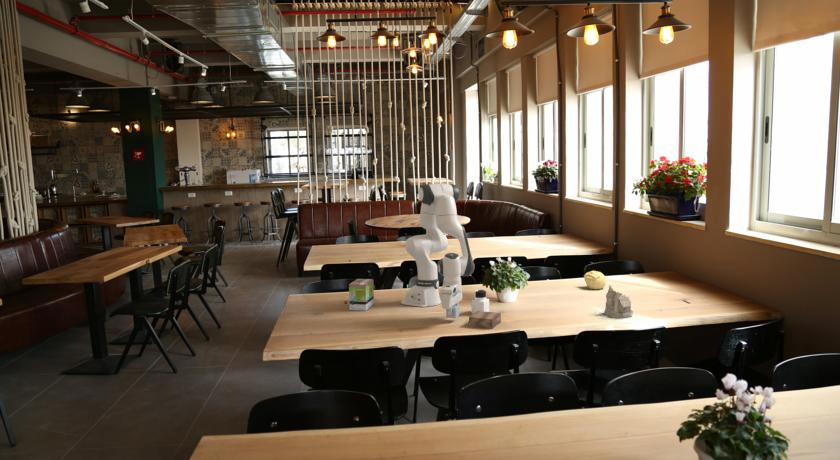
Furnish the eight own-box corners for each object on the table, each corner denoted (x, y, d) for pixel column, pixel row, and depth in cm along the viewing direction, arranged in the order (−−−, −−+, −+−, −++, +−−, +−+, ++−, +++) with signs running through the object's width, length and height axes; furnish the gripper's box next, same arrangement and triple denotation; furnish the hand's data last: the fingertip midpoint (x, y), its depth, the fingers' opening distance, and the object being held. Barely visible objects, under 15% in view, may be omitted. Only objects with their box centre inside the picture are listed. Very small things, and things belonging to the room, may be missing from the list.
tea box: (367, 311, 330) (365, 284, 328) (349, 310, 332) (348, 283, 330) (374, 304, 344) (373, 278, 342) (357, 303, 346) (356, 278, 344)
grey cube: (446, 317, 304) (446, 307, 303) (449, 314, 308) (449, 305, 308) (455, 318, 302) (455, 308, 301) (459, 315, 306) (459, 305, 306)
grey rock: (617, 319, 300) (618, 288, 299) (598, 312, 316) (599, 283, 315) (644, 317, 305) (645, 288, 304) (624, 311, 320) (625, 283, 319)
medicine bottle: (489, 312, 321) (489, 289, 319) (483, 315, 315) (483, 292, 313) (477, 310, 324) (476, 288, 323) (471, 313, 318) (471, 291, 317)
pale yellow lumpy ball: (581, 287, 370) (581, 270, 369) (596, 285, 375) (596, 268, 374) (594, 291, 360) (594, 273, 359) (609, 289, 365) (609, 271, 364)
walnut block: (469, 326, 296) (468, 316, 295) (478, 320, 306) (477, 310, 306) (492, 329, 290) (492, 319, 290) (500, 322, 301) (500, 313, 300)
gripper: (453, 281, 314) (454, 307, 316) (438, 290, 295) (439, 317, 297) (465, 282, 311) (465, 308, 313) (451, 291, 293) (451, 319, 295)
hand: (452, 313), depth 305 cm, fingers closed on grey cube, 5 cm apart
